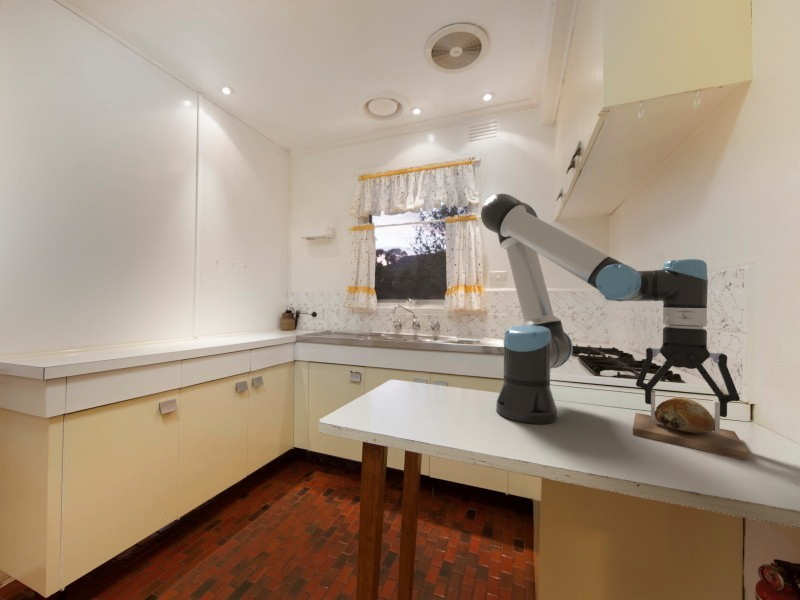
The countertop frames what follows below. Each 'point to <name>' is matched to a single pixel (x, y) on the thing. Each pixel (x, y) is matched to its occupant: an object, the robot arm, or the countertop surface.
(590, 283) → the robot arm
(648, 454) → the countertop surface
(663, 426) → the cutting board
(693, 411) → the bread roll
